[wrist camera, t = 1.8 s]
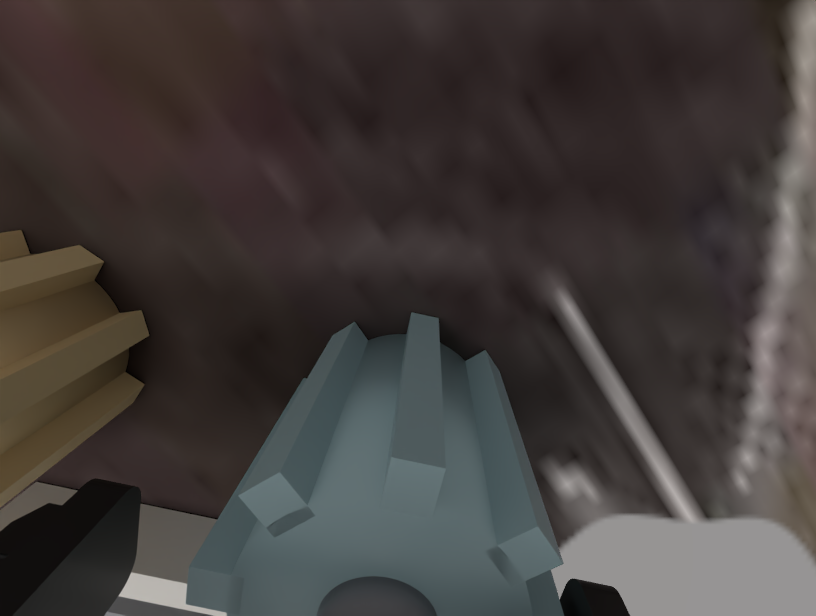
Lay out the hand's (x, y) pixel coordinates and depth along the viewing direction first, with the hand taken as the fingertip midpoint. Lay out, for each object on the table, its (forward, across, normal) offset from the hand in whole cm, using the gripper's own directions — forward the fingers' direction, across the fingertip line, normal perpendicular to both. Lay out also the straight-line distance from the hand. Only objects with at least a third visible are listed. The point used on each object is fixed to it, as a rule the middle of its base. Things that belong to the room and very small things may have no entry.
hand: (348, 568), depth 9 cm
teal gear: (+6, -1, 0) cm, 6 cm away
